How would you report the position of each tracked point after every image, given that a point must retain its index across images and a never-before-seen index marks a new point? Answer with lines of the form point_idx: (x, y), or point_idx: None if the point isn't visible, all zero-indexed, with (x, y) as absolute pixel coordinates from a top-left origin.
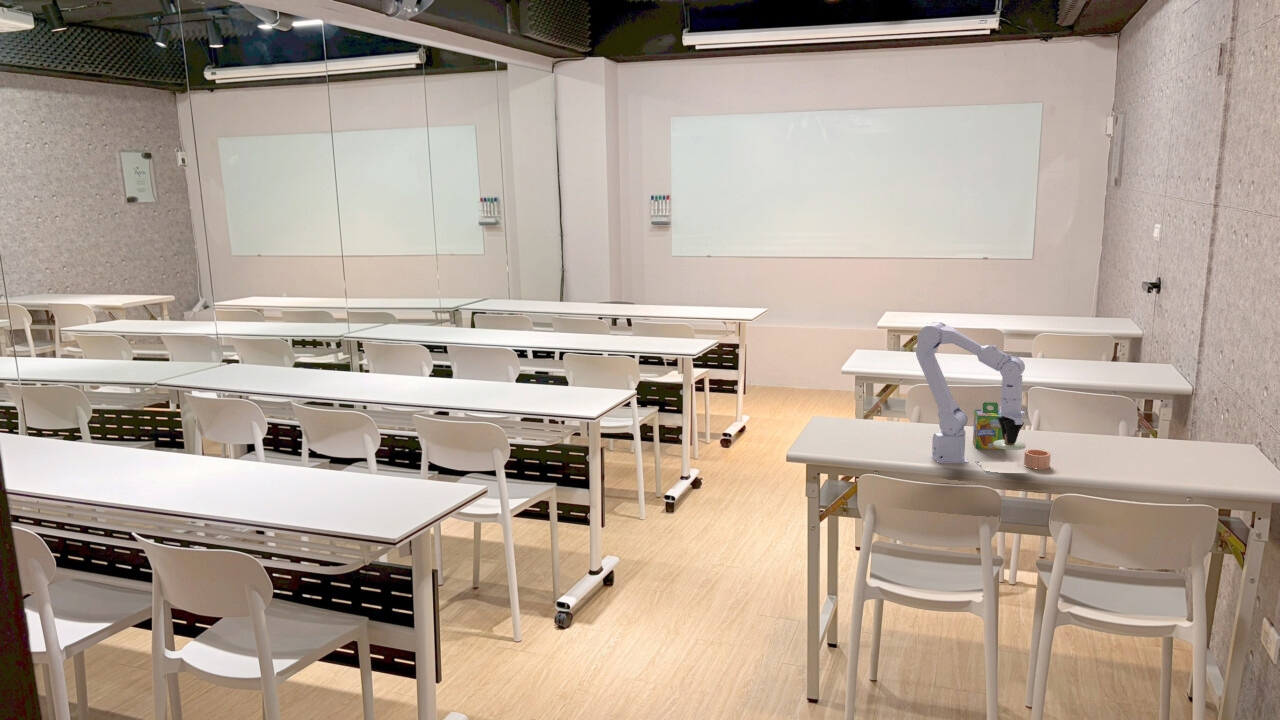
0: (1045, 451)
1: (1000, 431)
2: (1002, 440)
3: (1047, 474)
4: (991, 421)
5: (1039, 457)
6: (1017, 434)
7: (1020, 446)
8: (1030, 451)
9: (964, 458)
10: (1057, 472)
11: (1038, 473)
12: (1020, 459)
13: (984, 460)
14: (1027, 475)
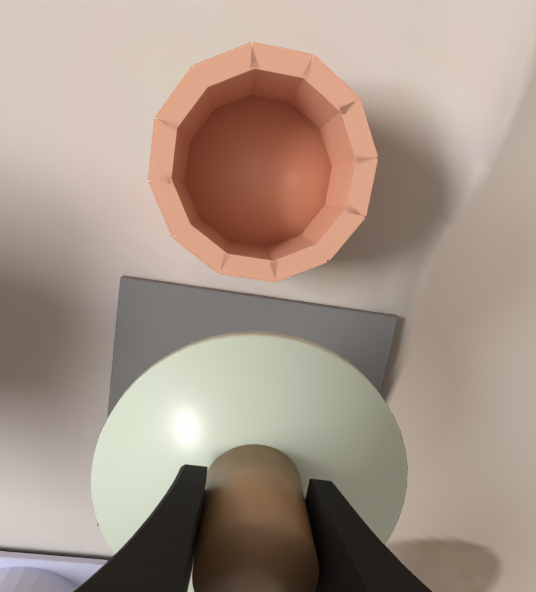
0: (239, 64)
1: None
2: (118, 497)
3: (421, 192)
4: None
5: (363, 211)
6: (393, 561)
7: (365, 428)
8: (177, 191)
9: (35, 566)
10: (402, 95)
11: (386, 240)
12: (61, 193)
13: (56, 443)
14: (403, 329)
